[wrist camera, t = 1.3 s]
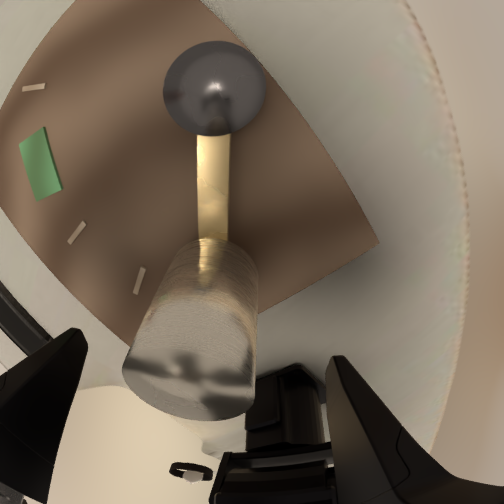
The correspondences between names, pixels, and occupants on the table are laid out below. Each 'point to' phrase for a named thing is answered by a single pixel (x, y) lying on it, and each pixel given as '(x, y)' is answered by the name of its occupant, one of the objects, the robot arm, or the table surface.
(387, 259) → the table surface
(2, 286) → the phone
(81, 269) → the wooden serving board
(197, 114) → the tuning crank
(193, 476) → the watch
